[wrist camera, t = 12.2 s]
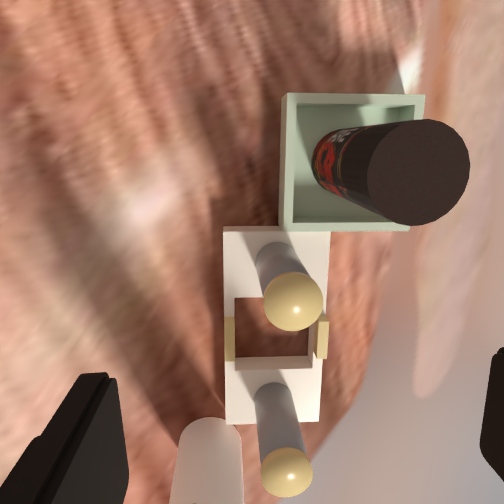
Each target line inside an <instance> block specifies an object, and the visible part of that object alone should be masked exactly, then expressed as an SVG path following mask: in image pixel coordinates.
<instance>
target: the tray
mask: <svg viewBox="0 0 504 504" xmlns="http://www.w3.org/2000/svg"><path fill="white" fill-rule="evenodd" d="M425 96H426V95H415V94H350V93H286V94H285V95H284V96H283V97H282V98H281V134H280V173H279V212H278V224H279V226H280V227H281V229H282V230H283V232H325V231H409V230H410V226H406V225H401V224H397V223H394V222H392V221H390V220H388V219H386V218H384V217H382V216H380V215H378V214H376V213H373V212H371V211H369V210H367V209H365V208H363V207H361V206H359V205H357V204H354V203H352V202H350V201H348V200H346V199H344V198H342V197H340V196H338V195H336V194H333V193H331V192H329V191H327V190H325V189H324V188H323V187H321V186H320V185H319V184H318V183H317V181H316V179H315V178H314V176H313V172H312V168H311V159H312V155H313V151H314V149H315V147H316V145H317V143H318V142H319V141H320V140H321V139H322V138H323V137H324V136H325V135H327V134H328V133H330V132H332V131H335V130H338V129H346V128H353V127H361V126H369V125H377V124H385V123H393V122H401V121H409V120H420V119H423V113H424V105H425Z"/></svg>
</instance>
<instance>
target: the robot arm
mask: <svg viewBox="0 0 504 504" xmlns="http://www.w3.org/2000/svg"><path fill="white" fill-rule="evenodd" d="M480 449H481V453H482V455H483V457H484V458H485V459H486V461H487V462H488V463H489V465H490V466H491V467H492V468H493V469H494V470H495V472H496V473H497V474H498V475H499V476H500V477H501V479H502V480H503V481H504V347H502V348H500V349H499V350H498V352H497V354H495V355H494V356H493V357H492V361H491V368H490V375H489V382H488V389H487V395H486V402H485V409H484V417H483V423H482V430H481V436H480ZM128 481H129V468H128V461H127V453H126V446H125V438H124V431H123V423H122V416H121V409H120V401H119V394H118V386H117V381H116V379H115V378H109V376H108V374H107V373H106V372H101V373H85V374H81V375H80V376H79V377H78V378H77V380H76V381H75V383H74V385H73V386H72V388H71V389H70V391H69V392H68V394H67V395H66V397H65V398H64V400H63V402H62V403H61V405H60V406H59V408H58V409H57V411H56V412H55V414H54V415H53V417H52V419H51V420H50V422H49V423H48V425H47V426H46V428H45V429H44V431H43V433H42V434H41V436H37V437H35V438H34V439H33V440H32V441H31V442H30V444H29V445H28V447H27V448H26V450H25V451H24V453H23V454H22V456H21V457H20V459H19V460H18V462H17V463H16V465H15V466H14V468H13V469H12V471H11V472H10V474H9V475H8V477H7V478H6V480H5V481H4V483H3V484H2V486H1V487H0V504H123V502H124V498H125V495H126V491H127V487H128Z"/></svg>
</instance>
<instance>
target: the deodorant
mask: <svg viewBox="0 0 504 504" xmlns="http://www.w3.org/2000/svg"><path fill="white" fill-rule="evenodd" d="M311 168H312V172H313V176H314V178H315V179H316V181H317V183H318V184H319V185H320V186H321V187H323V188H324V189H325V190H327V191H329V192H331V193H333V194H336V195H338V196H340V197H342V198H344V199H346V200H348V201H350V202H352V203H354V204H357V205H359V206H361V207H363V208H365V209H367V210H369V211H371V212H373V213H376V214H378V215H380V216H382V217H384V218H386V219H388V220H390V221H392V222H394V223H397V224H401V225H406V226H417V225H424V224H427V223H430V222H433V221H436V220H437V219H439V218H440V217H442V216H444V215H445V214H447V213H448V212H449V211H450V210H451V209H452V208H453V207H454V206H455V205H456V204H457V202H458V201H459V199H460V198H461V196H462V194H463V193H464V191H465V188H466V185H467V182H468V179H469V172H470V160H469V154H468V150H467V148H466V146H465V143H464V141H463V139H462V138H461V137H460V136H459V134H458V133H457V132H456V131H455V130H454V129H453V128H451V127H450V126H448V125H446V124H444V123H443V122H440V121H435V120H431V119H420V120H409V121H401V122H393V123H385V124H377V125H369V126H361V127H353V128H346V129H338V130H335V131H332V132H330V133H328V134H327V135H325V136H324V137H323V138H322V139H321V140H320V141H319V142H318V143H317V145H316V147H315V149H314V151H313V155H312V159H311Z"/></svg>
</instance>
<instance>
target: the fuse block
mask: <svg viewBox="0 0 504 504" xmlns="http://www.w3.org/2000/svg"><path fill="white" fill-rule="evenodd" d="M330 233H331V231H325V232H283V230H282V229H281V227H280V226H223V266H224V353H225V410H226V425H234V424H257V433H258V442H259V451H260V461H261V467H260V472H261V481H262V484H263V486H264V488H265V489H266V490H267V491H268V492H269V493H271V494H273V495H275V496H279V497H291V496H295V495H297V494H300V493H301V492H303V491H304V490H305V489H306V488H307V487H308V486H309V485H310V483H311V481H312V478H313V471H312V467H311V463H310V460H309V458H308V456H307V452H306V448H305V444H304V440H303V437H302V433H301V429H300V425H299V422H313V421H319V407H320V392H321V376H322V360H323V359H327V347H328V332H329V320H328V319H327V317H326V315H325V313H326V297H327V281H328V265H329V249H330ZM242 297H263V305H264V310H265V313H266V316H267V318H268V319H269V321H270V322H271V323H272V324H273V325H275V326H276V327H278V328H280V329H283V330H287V331H298V330H302V329H305V328H307V327H308V326H309V337H308V356H276V357H239V358H235V317H234V298H242Z"/></svg>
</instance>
